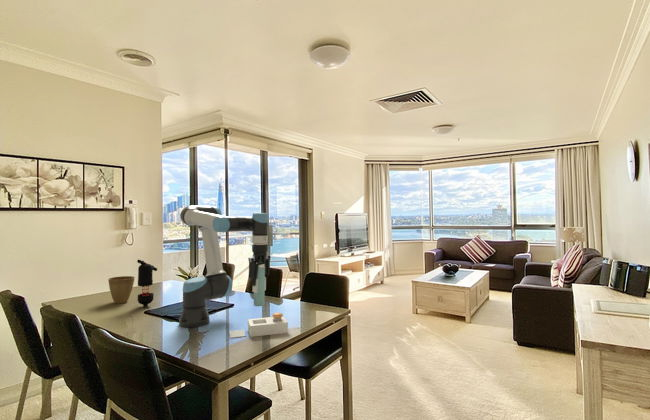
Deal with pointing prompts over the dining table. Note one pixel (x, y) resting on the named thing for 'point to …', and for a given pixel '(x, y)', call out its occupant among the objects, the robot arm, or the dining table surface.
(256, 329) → the base
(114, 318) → the dining table surface
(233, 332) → the mat
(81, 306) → the dining table surface
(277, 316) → the plunger
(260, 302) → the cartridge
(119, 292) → the plant pot
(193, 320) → the robot arm
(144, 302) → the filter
